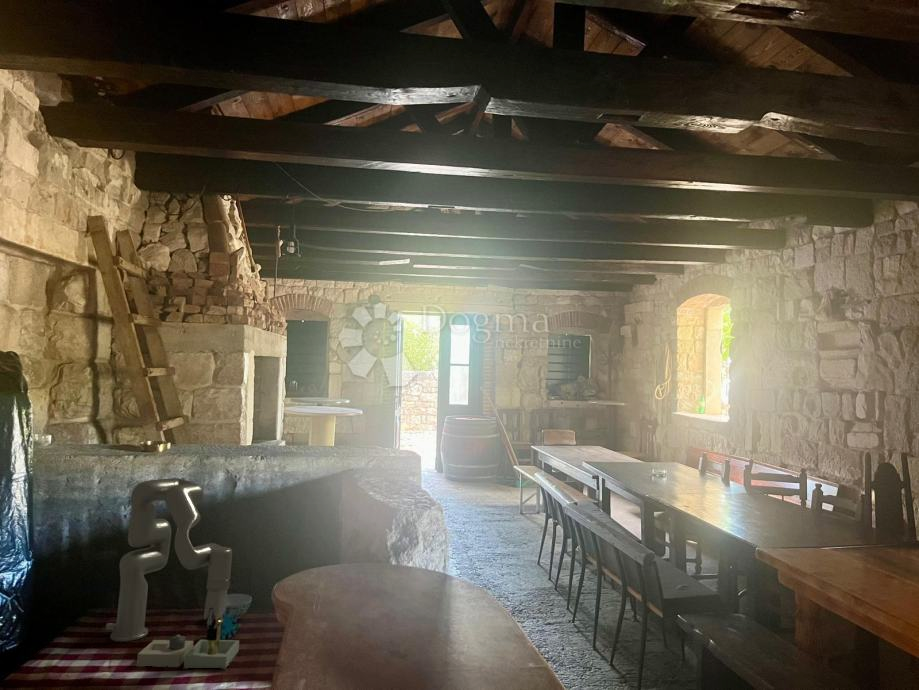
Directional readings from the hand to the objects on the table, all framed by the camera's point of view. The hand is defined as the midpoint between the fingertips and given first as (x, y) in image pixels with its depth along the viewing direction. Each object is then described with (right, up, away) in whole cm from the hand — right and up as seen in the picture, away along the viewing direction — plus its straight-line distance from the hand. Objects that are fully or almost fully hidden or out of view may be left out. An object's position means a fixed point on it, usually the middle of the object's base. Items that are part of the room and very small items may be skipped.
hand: (213, 636), depth 204 cm
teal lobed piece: (-4, -10, +20) cm, 23 cm away
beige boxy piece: (-16, -7, -2) cm, 18 cm away
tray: (0, -8, -1) cm, 8 cm away
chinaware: (-9, -12, +38) cm, 41 cm away
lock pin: (0, -5, -1) cm, 5 cm away
